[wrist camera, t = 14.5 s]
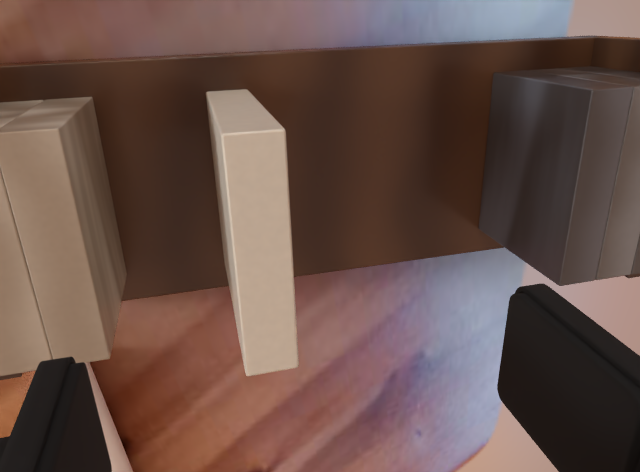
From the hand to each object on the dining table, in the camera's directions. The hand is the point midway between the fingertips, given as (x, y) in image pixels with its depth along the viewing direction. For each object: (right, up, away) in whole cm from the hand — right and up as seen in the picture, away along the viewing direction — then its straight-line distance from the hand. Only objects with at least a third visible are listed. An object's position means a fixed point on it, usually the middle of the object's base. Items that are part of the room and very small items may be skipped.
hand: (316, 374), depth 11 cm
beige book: (-4, +6, +15) cm, 17 cm away
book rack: (0, +7, +18) cm, 19 cm away
